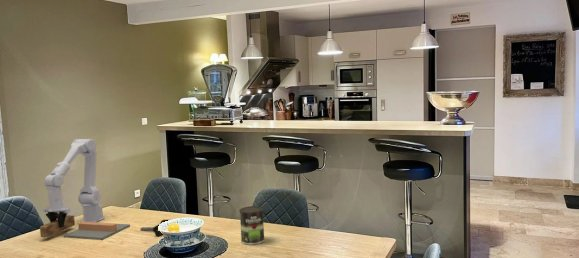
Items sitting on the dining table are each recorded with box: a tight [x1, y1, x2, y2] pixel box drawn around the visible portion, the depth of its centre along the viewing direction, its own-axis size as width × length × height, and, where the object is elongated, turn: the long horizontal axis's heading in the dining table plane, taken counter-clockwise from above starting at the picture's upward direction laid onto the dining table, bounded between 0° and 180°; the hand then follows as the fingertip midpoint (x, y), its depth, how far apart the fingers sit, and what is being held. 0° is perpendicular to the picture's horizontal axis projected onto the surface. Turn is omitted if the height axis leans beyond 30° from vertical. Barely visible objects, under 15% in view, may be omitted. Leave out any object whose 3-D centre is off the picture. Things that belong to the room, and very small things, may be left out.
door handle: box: [140, 219, 169, 237], centre depth 216 cm, size 3×20×16 cm
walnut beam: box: [39, 214, 76, 238], centre depth 215 cm, size 18×4×5 cm, turn 165°
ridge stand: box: [63, 221, 131, 241], centre depth 217 cm, size 20×22×4 cm
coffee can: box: [239, 205, 265, 246], centre depth 193 cm, size 10×10×14 cm
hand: (58, 226), depth 215 cm, fingers closed on walnut beam, 4 cm apart
